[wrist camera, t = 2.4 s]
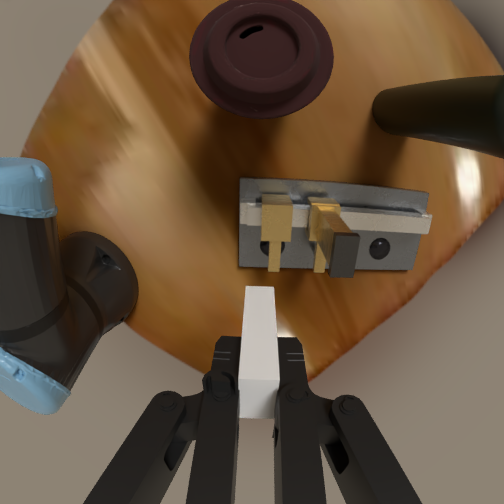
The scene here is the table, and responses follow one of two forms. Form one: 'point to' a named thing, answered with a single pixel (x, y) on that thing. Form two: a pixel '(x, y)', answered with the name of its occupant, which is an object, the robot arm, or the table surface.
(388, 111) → the wine bottle
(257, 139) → the table surface
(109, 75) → the table surface
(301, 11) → the coffee cup
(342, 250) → the sliding leg
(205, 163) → the table surface
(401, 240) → the trammel plate
